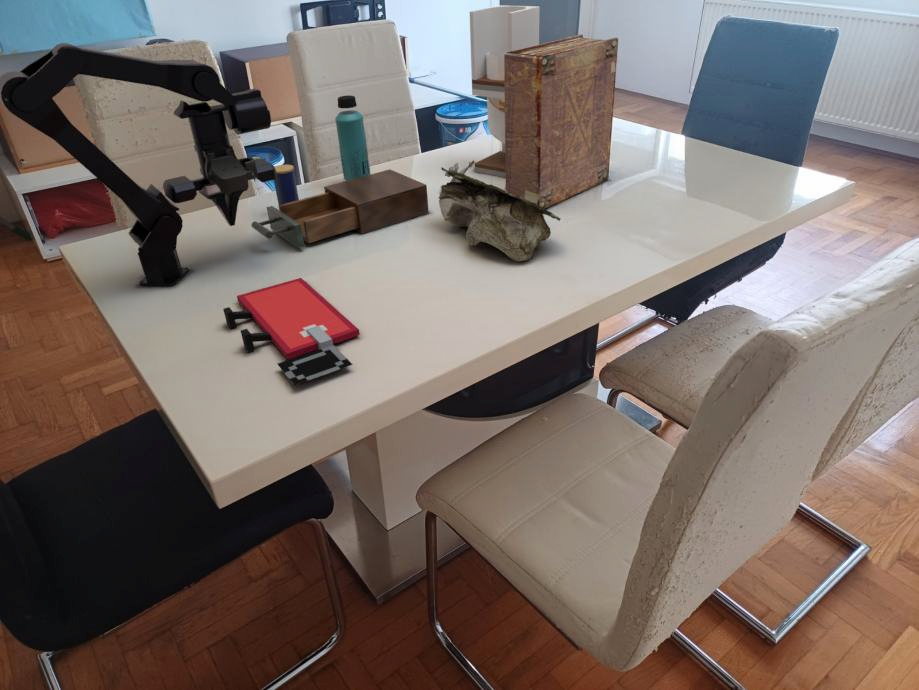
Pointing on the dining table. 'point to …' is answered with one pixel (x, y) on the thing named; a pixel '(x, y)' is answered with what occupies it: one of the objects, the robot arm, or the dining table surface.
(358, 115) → the beverage bottle
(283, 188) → the tin
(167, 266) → the robot arm
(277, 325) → the red board with handle
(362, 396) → the dining table surface
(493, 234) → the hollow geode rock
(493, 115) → the display case
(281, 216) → the drawer
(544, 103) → the book
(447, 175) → the dry twiggy plant
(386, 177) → the cabinet
